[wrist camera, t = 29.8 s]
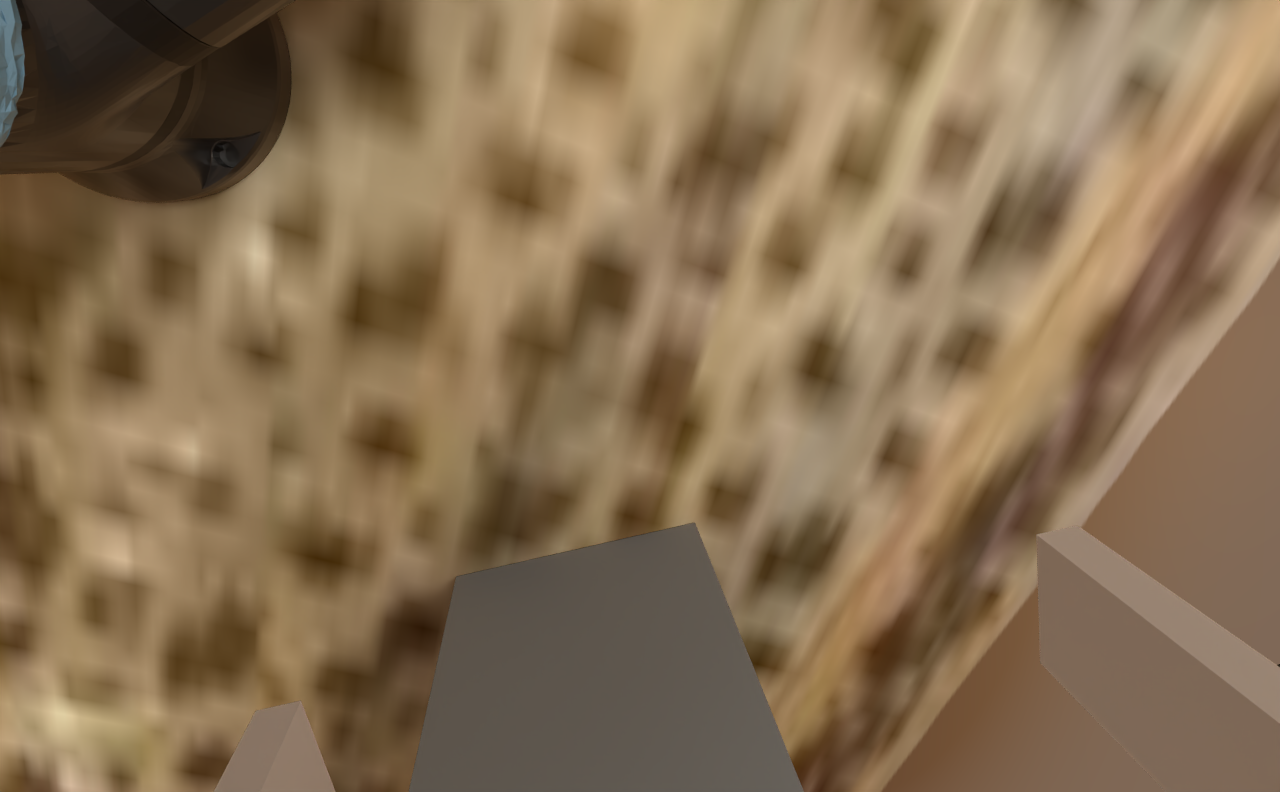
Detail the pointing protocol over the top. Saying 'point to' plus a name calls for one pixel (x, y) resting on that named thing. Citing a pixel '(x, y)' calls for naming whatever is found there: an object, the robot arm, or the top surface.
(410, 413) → the top surface
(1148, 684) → the robot arm
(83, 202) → the top surface
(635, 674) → the slate podium
